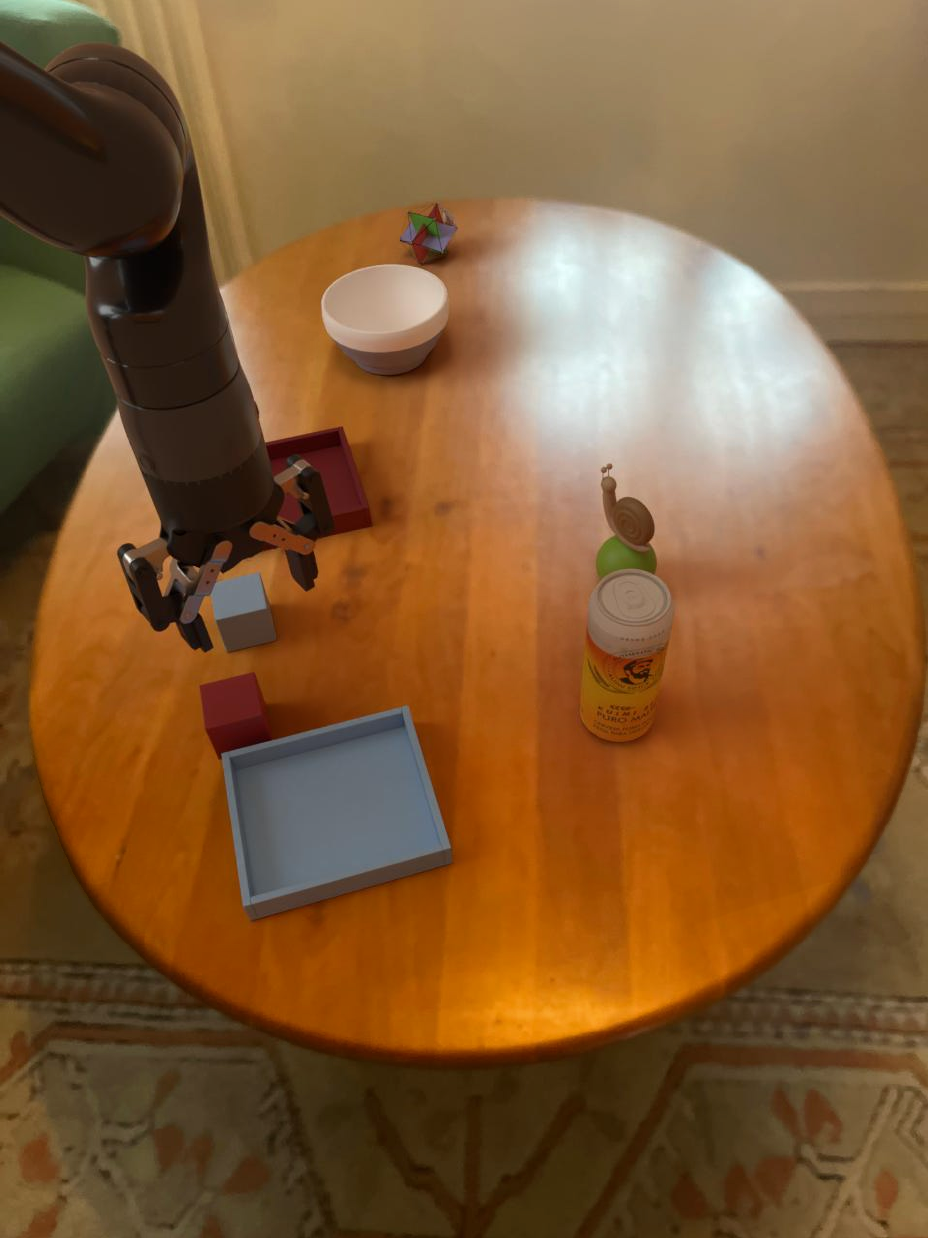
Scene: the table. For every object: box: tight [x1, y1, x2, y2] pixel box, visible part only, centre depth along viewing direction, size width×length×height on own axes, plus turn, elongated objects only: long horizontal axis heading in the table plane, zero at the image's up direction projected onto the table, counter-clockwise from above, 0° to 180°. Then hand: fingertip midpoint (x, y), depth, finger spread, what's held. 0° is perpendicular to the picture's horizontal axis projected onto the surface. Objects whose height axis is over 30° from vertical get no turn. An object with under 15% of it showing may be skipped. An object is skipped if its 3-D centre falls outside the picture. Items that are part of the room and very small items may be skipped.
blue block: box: [210, 571, 277, 653], centre depth 85 cm, size 4×4×4 cm
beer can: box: [578, 569, 676, 743], centre depth 73 cm, size 6×6×15 cm
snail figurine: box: [595, 463, 658, 581], centre depth 84 cm, size 5×6×12 cm
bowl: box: [320, 263, 450, 376], centre depth 110 cm, size 14×14×8 cm
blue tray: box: [221, 704, 454, 921], centre depth 73 cm, size 15×13×2 cm
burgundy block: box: [199, 671, 273, 760], centre depth 78 cm, size 4×4×4 cm
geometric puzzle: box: [398, 202, 459, 266], centre depth 124 cm, size 7×7×8 cm
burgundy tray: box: [262, 425, 373, 552], centre depth 96 cm, size 15×13×2 cm
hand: (254, 613), depth 69 cm, fingers open, 8 cm apart
